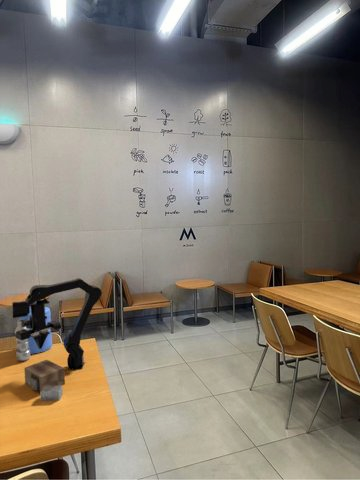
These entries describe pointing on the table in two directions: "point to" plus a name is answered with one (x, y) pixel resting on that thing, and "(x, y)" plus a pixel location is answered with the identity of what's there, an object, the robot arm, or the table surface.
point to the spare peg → (51, 393)
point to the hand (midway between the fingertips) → (40, 348)
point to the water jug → (31, 341)
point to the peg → (34, 383)
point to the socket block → (45, 374)
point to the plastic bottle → (22, 345)
